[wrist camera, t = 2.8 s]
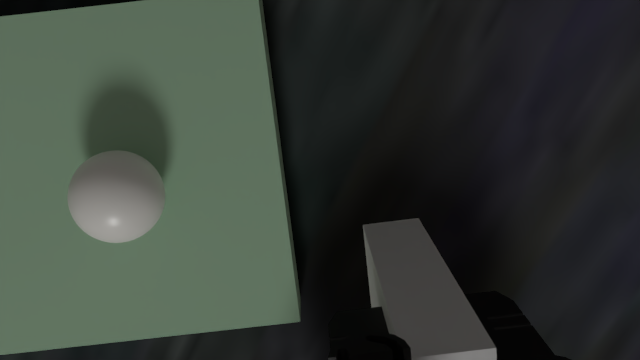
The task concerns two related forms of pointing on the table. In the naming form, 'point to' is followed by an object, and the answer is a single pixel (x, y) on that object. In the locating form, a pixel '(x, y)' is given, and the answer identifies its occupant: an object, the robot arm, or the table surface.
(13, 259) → the putting mat
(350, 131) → the table surface
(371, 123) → the table surface
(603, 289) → the table surface
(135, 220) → the ball
